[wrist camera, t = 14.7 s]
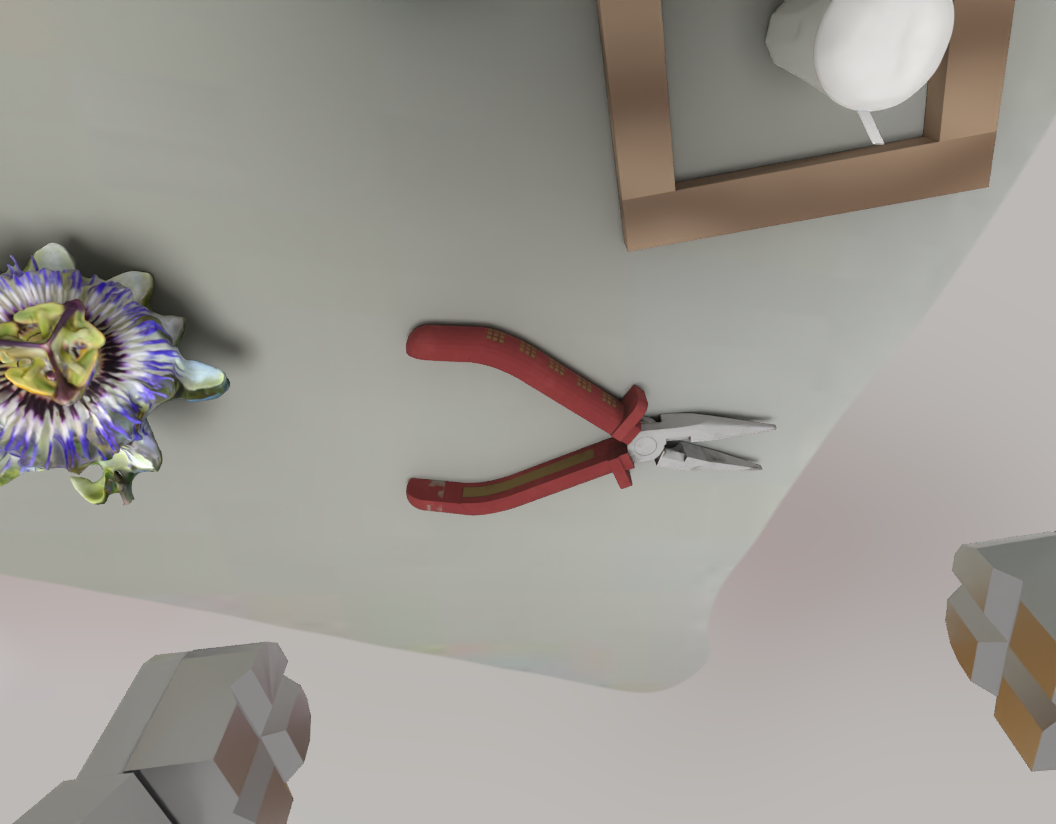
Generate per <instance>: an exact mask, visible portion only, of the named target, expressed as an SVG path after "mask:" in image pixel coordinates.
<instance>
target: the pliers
mask: <svg viewBox="0 0 1056 824" xmlns="http://www.w3.org/2000/svg"><path fill="white" fill-rule="evenodd" d="M406 352H407V354H408V355H409V356H411V357H413V358H416V359H421V360H433V361H455V362H473V363H479V364H483V365H487V366H491V367H494V368H497V369H499V370H502V371H504V372H506V373H509V374H511V375H513V376H514V377H516V378H518V379H520V380H522V381H523V382H525V383H527V384H528V385H530V386H531V387H533V388H535V389H536V390H538V391H540V392H541V393H543V394H545V395H546V396H548V397H550V398H551V399H553V400H554V401H556V402H558V403H559V404H561V405H563V406H564V407H566V408H568V409H569V410H571V411H573V412H574V413H576V414H577V415H579V416H581V417H582V418H584V419H586V420H587V421H589V422H591V423H592V424H594V425H596V426H597V427H599V428H600V429H602V430H604V431H605V432H607V433H609V434H610V435H611V436H612V438H609V439H606V440H603V441H601V442H598V443H595V444H593V445H590V446H587V447H585V448H582V449H580V450H577V451H574V452H572V453H569V454H566V455H564V456H561V457H558V458H556V459H553V460H550V461H548V462H545V463H542V464H540V465H537V466H534V467H532V468H529V469H526V470H524V471H521V472H518V473H516V474H513V475H510V476H508V477H504V478H501V479H497V480H493V481H487V482H480V483H460V482H449V481H439V480H428V479H416V478H412V479H411V480H410V481H409V482H408V485H407V490H406V494H407V499H408V501H409V502H410V503H411V504H412V505H413V506H414V507H416V508H418V509H421V510H427V511H436V512H445V513H454V514H464V515H485V514H491V513H496V512H500V511H505V510H508V509H512V508H515V507H518V506H521V505H524V504H526V503H529V502H532V501H535V500H537V499H540V498H543V497H546V496H548V495H551V494H554V493H557V492H560V491H562V490H565V489H568V488H571V487H573V486H576V485H579V484H582V483H584V482H587V481H590V480H593V479H595V478H598V477H601V476H604V475H606V474H609V473H612V472H613V474H614V476H615V478H616V480H617V482H618V484H619V486H620V488H621V489H623V488H626V487H629V486H632V480H631V475H630V471H629V469H632V468H635V467H634V462H643V461H651V460H653V459H655V462H656V465H657V466H661V467H665V468H671V469H678V470H762V467H761V465H758V464H755V463H752V462H749V461H746V460H743V459H739V458H736V457H733V456H730V455H727V454H724V453H721V452H717V451H714V450H711V449H708V448H705V447H702V446H698V445H694V444H690V443H686V442H682V441H680V443H679V444H678V445H677V446H675V447H673V448H665V447H664V445H666V441H673V440H687V439H689V440H690V442H700V441H711V440H718V439H724V438H730V437H735V436H741V435H747V434H753V433H759V432H764V431H770V430H776V426H775V425H773V424H766V423H759V422H752V421H745V420H738V419H731V418H724V417H716V416H709V415H702V414H693V413H671V414H660V422H656V421H655V420H653V419H652V418H649V417H645V416H644V414H645V412H646V410H647V407H648V402H647V399H646V396H645V393H644V391H643V390H641V389H640V388H638V387H637V386H635V385H633V386H632V387H631V389H630V390H629V391H628V392H627V393H626V394H625V396H624V397H623V398H622V399H621V400H620V401H619V400H617V399H616V398H614V397H612V396H611V395H609V394H608V393H606V392H605V391H603V390H601V389H600V388H598V387H597V386H595V385H593V384H592V383H590V382H589V381H587V380H585V379H584V378H582V377H581V376H579V375H577V374H576V373H574V372H573V371H571V370H570V369H568V368H566V367H565V366H563V365H562V364H560V363H558V362H557V361H555V360H554V359H552V358H550V357H549V356H547V355H546V354H544V353H542V352H541V351H539V350H538V349H536V348H535V347H533V346H531V345H530V344H528V343H526V342H524V341H522V340H520V339H518V338H516V337H513V336H511V335H509V334H506V333H504V332H501V331H499V330H495V329H491V328H487V327H472V326H446V325H424V326H420V327H418V328H416V329H415V330H413V331H412V332H411V333H410V335H409V337H408V340H407V343H406Z"/></svg>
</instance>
